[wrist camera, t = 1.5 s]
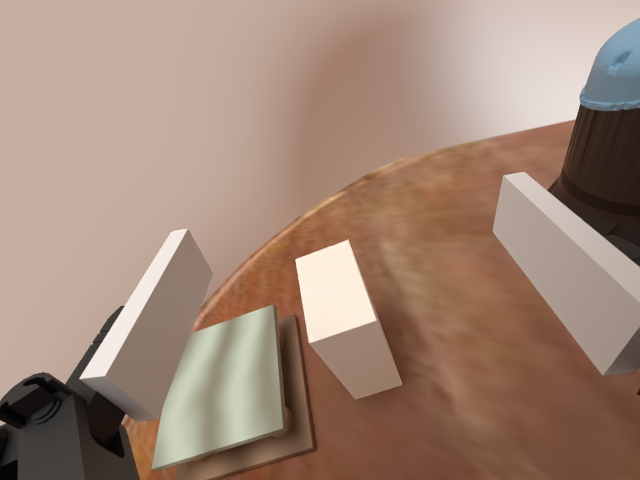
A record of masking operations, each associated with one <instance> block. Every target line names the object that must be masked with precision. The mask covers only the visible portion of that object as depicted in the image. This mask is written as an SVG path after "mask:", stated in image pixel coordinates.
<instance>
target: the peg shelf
mask: <svg viewBox="0 0 640 480" xmlns="http://www.w3.org/2000/svg"><path fill="white" fill-rule="evenodd" d="M314 450H316V443H315V436H314V429H313V422H312V415H311V408H310V401H309V394H308V387H307V379H306V372H305V365H304V358H303V351H302V344H301V337H300V330H299V323H298V318H297V317H296V315H295V314H294V315H291V316H288V317H285V318H282V319H279V320H278V319H277V308H276V307H275V306H274V305H270V306H267V307H264V308H262V309H259V310H256V311H253V312H250V313H248V314H245V315H242V316H239V317H236V318H234V319H231V320H228V321H225V322H222V323H220V324H217V325H214V326H211V327H208V328H206V329H203V330H200V331H197V332H194V333H192V334H190V336H189V339H188V342H187V344H186V347H185V349H184V352H183V355H182V357H181V360H180V363H179V365H178V368H177V371H176V373H175V376H174V379H173V381H172V384H171V386H170V389H169V392H168V394H167V397H166V400H165V402H164V405H163V409H162V414H161V420H160V425H159V431H158V436H157V442H156V447H155V453H154V458H153V463H152V470H158V471H159V470H162V469H165V468H169V467H172V466H175V465H177V469H176V477H175V480H217V479H220V478H224V477H227V476H230V475H234V474H237V473H240V472H244V471H247V470H250V469H254V468H257V467H260V466H264V465H267V464H270V463H274V462H277V461H280V460H284V459H287V458H290V457H294V456H297V455H300V454H304V453H307V452H310V451H314Z"/></svg>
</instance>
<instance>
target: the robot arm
mask: <svg viewBox="0 0 640 480" xmlns="http://www.w3.org/2000/svg"><path fill="white" fill-rule="evenodd" d="M580 103H581V104H580V107H579V111H578V115H577V118H576V122H575V125H574V129H573V133H572V136H571V140H570V144H569V147H568V151H567V154H566V157H565V161H564V165H563V168H562V171H561V174H560V176H559V177H558V178H557V179H556V181H555V182H554V183H553V184H552V185H551V187H550V188H549V189H548V190H546V189H544V188H543V187H542V186H541V185H539V184H538V183H537V182H536V181H535V180H533V179H532V178H531V177H530V176H529V175H527V174H526V173H525V172H521V173H515V174H509V175H503V180H502V185H501V190H500V195H499V200H498V206H497V211H496V216H495V221H494V226H493V233H494V234H495V235H496V237H497V238H498V239H499V241H500V242H501V243H502V245H503V246H504V247H505V248H506V250H507V251H508V252H509V254H510V255H511V256H512V258H513V259H514V260H515V262H516V263H517V264H518V265H519V267H520V268H521V269H522V271H523V272H524V273H525V275H526V276H527V277H528V279H529V280H530V281H531V282H532V284H533V285H534V286H535V288H536V289H537V290H538V292H539V293H540V294H541V296H542V297H543V298H544V300H545V301H546V302H547V303H548V305H549V306H550V307H551V309H552V310H553V311H554V313H555V314H556V315H557V317H558V318H559V319H560V320H561V322H562V323H563V324H564V326H565V327H566V328H567V330H568V331H569V332H570V334H571V335H572V336H573V338H574V339H575V340H576V341H577V343H578V344H579V345H580V347H581V348H582V349H583V351H584V352H585V353H586V355H587V356H588V357H589V358H590V360H591V361H592V362H593V364H594V365H595V366H596V368H597V369H598V370H599V372H600V373H601V374H602V376H608V375H618V374H628V373H634V372H635V371H636V370H637V368H638V367H639V366H640V18H639V19H637V20H635V21H633V22H631V23H630V24H628V25H627V26H625V27H623V28H622V29H620V30H619V31H618V32H616V33H615V34H614V35H613V36H612V37H611V38H609V40H607V42H606V43H605V44H604V45H603V46H602V48H601V49H600V51H599V52H598V54H597V56H596V58H595V61H594V63H593V66H592V69H591V72H590V75H589V77H588V80H587V83H586V85H585V87H584V88H583V89H582V91H581V94H580ZM212 275H213V272H212V270H211V268H210V267H209V265H208V263H207V261H206V260H205V258H204V256H203V254H202V253H201V251H200V249H199V247H198V246H197V244H196V242H195V240H194V239H193V237H192V235H191V234H190V232H189V230H188V229H184V230H178V231H172V232H171V233H170V235H169V237H168V238H167V240H166V241H165V243H164V245H163V246H162V248H161V249H160V251H159V253H158V254H157V256H156V257H155V259H154V260H153V262H152V264H151V265H150V267H149V268H148V270H147V272H146V273H145V275H144V276H143V278H142V280H141V281H140V283H139V285H138V286H137V288H136V289H135V291H134V292H133V294H132V295H131V297H130V299H129V300H128V302H127V304H126V305H125V306H121V307H120V308H119V309H117V310H116V311H115V312H114V313H113V314H112V315H111V316H110V317H109V318H108V320H107V321H106V323H105V324H104V326H103V327H102V329H101V330H100V334H98V335H97V337H96V338H95V339H94V341H93V345H91V346H90V347H89V349H88V351H87V352H86V353H85V355H84V357H83V358H82V359H81V361H80V362H79V364H78V366H77V367H76V369H75V370H74V372H73V373H72V375H71V376H70V378H69V379H68V381H67V382H66V384H63V383H62V382H60V381H59V380H57V379H56V378H55V377H53V376H52V375H50V374H48V373H44V372H42V373H38V374H34V375H32V376H30V377H28V378H26V379H24V380H23V381H21V382H20V383H18V384H17V385H15V386H14V387H13V388H12V389H11V390H10V391H9V392H8V393H7V394H6V395H5V396H4V397H3V398H2V399H1V401H0V420H1V421H3V422H5V423H7V424H5V425H2V426H0V480H140V479H139V475H138V471H137V468H136V464H135V460H134V457H133V453H132V449H131V446H130V442H129V438H128V435H127V431H126V429H125V427H124V426H123V425H122V424H121V422H122V420H123V418H124V416H125V414H127V415H128V416H129V417H131V418H132V419H134V420H135V421H146V420H156V419H158V418H159V416H160V413H161V410H162V408H163V405H164V402H165V400H166V397H167V394H168V392H169V389H170V386H171V384H172V381H173V379H174V376H175V373H176V371H177V368H178V365H179V363H180V360H181V357H182V355H183V352H184V349H185V347H186V344H187V342H188V339H189V336H190V334H191V331H192V328H193V326H194V323H195V320H196V318H197V315H198V312H199V310H200V307H201V304H202V302H203V299H204V296H205V294H206V291H207V289H208V286H209V283H210V281H211V278H212ZM637 394H638V395H640V388H639V390H638V393H637Z"/></svg>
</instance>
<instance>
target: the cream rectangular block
mask: <svg viewBox="0 0 640 480" xmlns="http://www.w3.org/2000/svg"><path fill="white" fill-rule="evenodd" d="M295 260H296V266H297V272H298V278H299V284H300V290H301V297H302V303H303V309H304V315H305V321H306V327H307V334H308V340H309V344H310V345H311V346H312V348H313V349H314V350H315V351H316V352H317V354H318V355H319V356H320V357H321V359H322V360H323V361H324V362H325V363H326V365H327V366H328V367H329V368H330V369H331V371H332V372H333V373H334V374H335V376H336V377H337V378H338V379H339V380H340V382H341V383H342V384H343V385H344V387H345V388H346V389H347V390H348V391H349V393H350V394H351V395H352V396H353V397H354V399H355V400H356V399H359V398H363V397H366V396H369V395H372V394H375V393H379V392H382V391H385V390H388V389H391V388H395V387H398V386H401V385H403V384H402V381H401V378H400V376H399V373H398V370H397V367H396V365H395V362H394V359H393V356H392V354H391V351H390V348H389V345H388V343H387V340H386V337H385V334H384V332H383V329H382V326H381V323H380V321H379V318H378V315H377V313H376V310H375V307H374V305H373V302H372V300H371V297H370V295H369V292H368V290H367V287H366V284H365V282H364V279H363V277H362V274H361V272H360V269H359V267H358V264H357V261H356V259H355V256H354V254H353V251H352V249H351V246H350V244H349V241H348V240H347V241H344V242H341V243H338V244H336V245H333V246H330V247H328V248H325V249H322V250H320V251H317V252H314V253H311V254H309V255H306V256H303V257H301V258H298V259H295Z"/></svg>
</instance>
